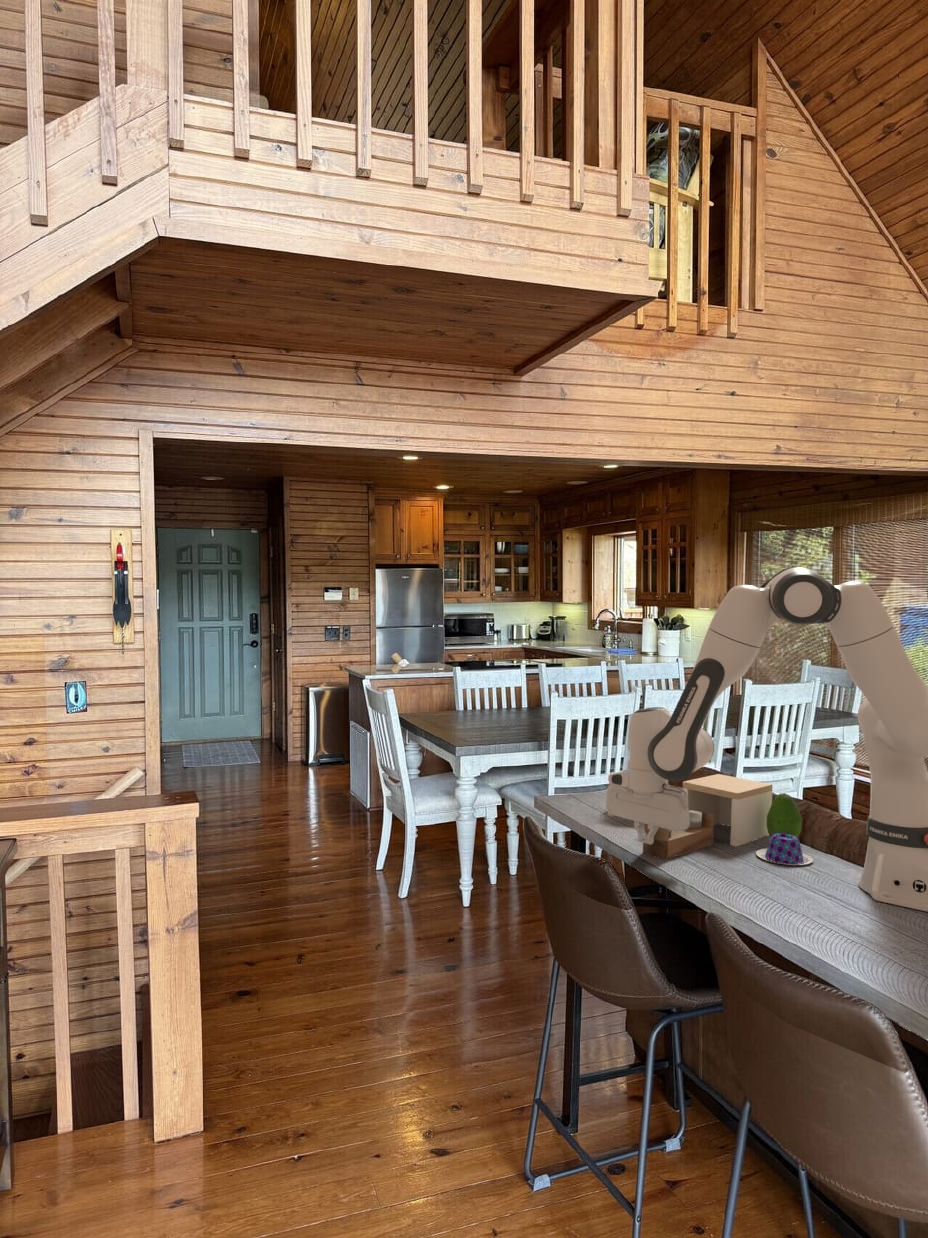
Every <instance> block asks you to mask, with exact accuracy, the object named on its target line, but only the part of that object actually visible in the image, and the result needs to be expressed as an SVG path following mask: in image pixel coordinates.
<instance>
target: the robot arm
mask: <svg viewBox="0 0 928 1238" xmlns="http://www.w3.org/2000/svg"><path fill="white" fill-rule="evenodd" d="M781 620H784V621H785V622H788V623H790V624H793V625H798V626H799V625H800V626H808V625H816V624H825V625H826V626H827V628H828V630H829V632H830V634H831V636H832V638H833V640H834V643H835V645H836V648H837V650H838V652H839V654H840V657H841V658H842V661H843V664H844V665H845V668H846V670H847V672H848V675H849V677H850V680H851V681H852V682H853V683H854V685H855V686H856V687H857V688H858V689H859V690H860V691H861V693H862V694H863V696H864V697H865V700H864V701H863V702H862V703H861V705H860V706H859V708H858V710H857V722H858V725H859V728H860V730H861V732H862V734H863V739H864V745H865V750H866V756H867V757H866V758H867V762H868V768H869V774H870V775H869V776H870V803H869V815H868V816H867V823H866V829H865V831H866V835H865V836H866V843H867V849H866V854H865V855H866V856H865V861H864V865H863V869H862V871H861V872H862V873H861V876H860V879H859V881H858V887H859V888H860V889H862V890H863V891H864V892H867V893H868V894H869V895H870V896H871V897H872V899H873V900H875V901H878V902H881V903H882V902H883V903H886V904H887V903H888V904H891V905H895V906H900V907H905V908H909V909H914V910H919V911H923V912H927V913H928V770H927V766H926V762H925V758H928V686H927V684H926V682H924V680H923V678H922V677H921V675H920V674H919V672H918V671H917V670H916V669H915V667H914V665H913V663H912V662H911V660H910V659H909V658H910V657H908V654H907V652H906V650H905V647H904V646H903V644H902V641H901V640H900V636H899V634H898V633H897V630H896V628H895V625H894V623H893V621H892V619H891V617H890V615H889V614H888V611H887V610H886V608H885V607H884V604H883V603H882V601H881V600H880V598H879V597H878V595H877V594H876V593H875V591H874V589H873V588H872V587H871V586H870V585H869V584H867V583H865V582H863V581H858V580H857V581H856V580H855V581H853V580H852V581H846V582H843V583H840V584H837V585H833V584H832V583H831V582H829V581H827V580H826V579H825V578H824V577H822V576H821V575H820V574H819V573H817V572H816V571H814V570H812V569H809V568H806V567H800V566H792V567H787V568H785V569H782V570H780V571H779V572H777V573H775V575H773V576H772V577H771V578H769V579H768V580H767V581H766V582H765V583H763V584H762V585H760V587H757V586H755V585H752V584H751V585H750V584H739V585H735V586H733V587H731V589H729V591H728V592H727V593H726V595H725V596H724V597H723V599H722V601H721V603H720V604H719V606H718V608H717V610H716V611H715V613H714V615H713V617H712V619H711V621H710V624H709V625H708V628H707V631H706V633H705V636H704V639H703V641H702V645H701V647H700V650H699V653H698V656H697V658H696V661H695V662H694V667H693V669H692V671H691V675H690V677H689V679H688V680H687V683H686V685H685V687H684V689H683V691H682V693H681V696H680V698H679V700H678V702H677V703H676V706H675V708H674V710H673V712H672V713H671V712H670V711H669V710H668V709H667V708H665V707H662V706H653V707H651V706H650V707H645V708H641V709H637V710H636V711H634V712H632V714H631V717H630V720H629V727H628V736H627V737H628V739H627V740H628V741H627V747H628V751H629V752H628V753H629V758H628V761H627V769H625V770H622V771H617V772H613V773H610V774H608V775H607V776H608V778H607V781H608V784H609V785H608V786H607V789H606V795H605V796H606V797H605V810H606V811H607V813H608V814H609V815H611V816H616V817H619V818H623V819H627V820H631V821H633V825H634V828H635V831H636V833H637V835H638V837H637V840H638V842H640V843H642V844H643V843H646V844H649V845H650V844H653V842H654V835H655V834H656V832H657V831H658V829H659V827H661V828H665V829H668V830H672V831H676V832H681V831H684V830H687V829H688V827H689V826H690V817H689V807H688V794H687V793H686V792H685V791H684V790H683V787H681V786H674V785H671V784H669V781H671V782H678V781H682V780H685V779H686V778H687V777H689V775H691V774H692V773H694V772H696V771H698V770H699V769H701V768H703V767H705V766H706V765H707V764H709V762H710V761H711V760H712V759H713V756H714V753H715V744H714V740H713V738H712V736H711V735H710V733H709V732H708V731H707V730H706V729H704V728H703V726H704V724H705V722H706V720H707V718H708V716H709V713H710V711H711V709H712V708H713V705H714V704H715V702H716V700H718V698H719V696H720V695H722V693H723V692H724V691H726V689H728V688H729V687H730V686H731V685H734V683H735V682H737V681H738V680H741V679H742V678H743V677H744V676H745V675H746V674H747V673H748V672H749V670H750V668H751V667H752V665H753V664H754V662H755V660H756V658H757V656H758V654H759V651H760V649H761V647H762V645H763V642H764V641H765V637H766V635H767V633H768V631H769V630H770V628H772V626H773V625H775V624H776V623H777V622H779V621H781ZM682 792H684V793H682ZM645 824H648V829H650V831H649V832H648V834H647V833H645V830H644V825H645Z"/></svg>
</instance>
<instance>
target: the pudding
mask: <svg viewBox="0 0 928 1238" xmlns="http://www.w3.org/2000/svg"><path fill="white" fill-rule="evenodd" d="M769 838H770V839H769V842H768V845H767V848H762V849H758V850H757V851H755V855H756V856H758V858H760V859H761V860H765V861H767V862H771V863H774V864H777V863H778V864H779V865H780V864H781V865H783V863H785V864H784V865H785V866H787V865H788V866H804V865H809V864H811V863H813V861H814V859H813V858H812V856H810V855H808V854H806V853H804V852H803V851H802V846H801V842H800V840H799V838H798V837H796V836H793V835H789V834H781V833H777V834H773V835H772V836H770V837H769ZM761 855H765V856H764V857H766V859H765V858H763V857H762V856H761ZM803 856H804V857H806V858H808V860H809V861H808V862H807V863H804V864H801V863H802V862H800V861H803V862H804V859H803ZM767 858H769V859H768V860H767ZM770 859H771V860H772V861H774V862H772V861H771V860H770ZM769 860H770V861H769ZM776 862H777V863H776ZM791 863H796V864H791ZM798 863H800V864H798Z"/></svg>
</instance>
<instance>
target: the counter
mask: <svg viewBox="0 0 928 1238" xmlns="http://www.w3.org/2000/svg"><path fill="white" fill-rule="evenodd" d="M682 788H683V790H684V791H685V792H686V793H687V794H688V807H689V811H690V810H695V811H700V812H704V813H708V814H712V815H714V826H716V825H715V824H717V825H721V824H724V825H723V826H725V825H729V826H731V827H730V839H729V841H730V846H732V845H733V847H739V846H741V845H742V846H743V845H745V844H748V843H751V842H753V841H752V840H754V841H756V840H755V839H757V840H759V839H758V838H760V837H763V838H765V837H764V836H766V837H769V836H770V835H769V833H768V830H767V825H766V822H767V814H768V812H769V810H770V807H771V805H772V802H773V784H772V783H767V782H762V781H757V780H751V779H748V778H747V779H746V778H740V777H735V776H732V775H731V776H730V775H726V774H720V773H717V774H712V775H707V776H703V777H699V778H694V779H688V780H685V781H682ZM682 793H684V792H682ZM718 823H720V824H718ZM729 826H728V827H729ZM768 835H769V836H768ZM760 839H761V838H760ZM750 841H751V842H750ZM747 842H748V843H747Z"/></svg>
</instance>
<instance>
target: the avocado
mask: <svg viewBox="0 0 928 1238" xmlns="http://www.w3.org/2000/svg"><path fill="white" fill-rule="evenodd" d="M766 825H767V830H768V833H769V836H770V837H771V836H772V835H773V834H777V833H781V834H789V835H793V836H796V837H797V838H798V837H799V836H800V834H801V831H802V829H803V818H802V815H801V812H800V809H799V807H798V805H797V803H796V801H795V799H794V798H793V797H792V796H791V795H789V794H787V793H785V792H784V793H779V794H777V795H775V797H774V798H773V799H772V805H771V807H770V810H769V812H768V814H767V822H766Z"/></svg>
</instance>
